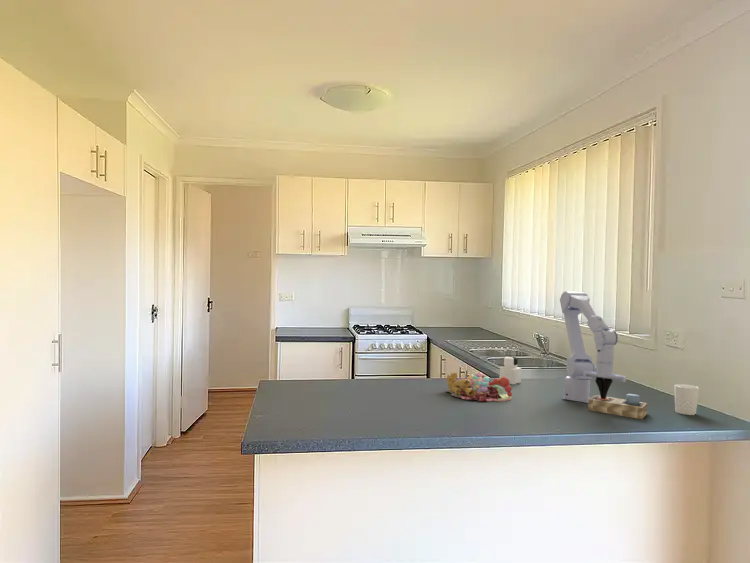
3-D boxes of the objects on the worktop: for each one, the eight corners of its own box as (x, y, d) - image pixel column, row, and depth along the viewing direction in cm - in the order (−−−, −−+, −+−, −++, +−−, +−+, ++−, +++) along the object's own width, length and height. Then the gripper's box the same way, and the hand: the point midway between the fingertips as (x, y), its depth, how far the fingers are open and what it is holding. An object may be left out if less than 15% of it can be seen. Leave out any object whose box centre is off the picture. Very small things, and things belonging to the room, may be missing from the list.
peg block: (588, 409, 192) (588, 399, 192) (594, 405, 200) (595, 394, 200) (641, 419, 182) (642, 407, 181) (646, 413, 190) (647, 402, 190)
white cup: (701, 416, 189) (702, 389, 189) (678, 414, 190) (679, 387, 190) (692, 411, 197) (693, 384, 197) (669, 409, 198) (671, 383, 198)
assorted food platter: (468, 404, 195) (469, 380, 195) (436, 391, 216) (437, 369, 216) (521, 400, 205) (522, 377, 205) (485, 387, 226) (486, 366, 226)
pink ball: (595, 408, 193) (595, 398, 193) (598, 406, 197) (598, 396, 197) (607, 410, 191) (608, 400, 191) (610, 408, 194) (610, 398, 194)
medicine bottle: (507, 380, 243) (508, 355, 243) (521, 383, 238) (522, 357, 238) (498, 382, 238) (500, 356, 238) (512, 385, 233) (513, 358, 233)
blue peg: (624, 405, 187) (625, 395, 187) (627, 403, 191) (627, 393, 191) (638, 407, 185) (638, 397, 185) (640, 405, 188) (640, 395, 188)
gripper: (581, 360, 195) (580, 396, 195) (623, 366, 186) (622, 403, 186) (586, 358, 200) (585, 393, 201) (627, 363, 192) (626, 400, 192)
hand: (603, 398), depth 194 cm, fingers closed, pressing on pink ball
